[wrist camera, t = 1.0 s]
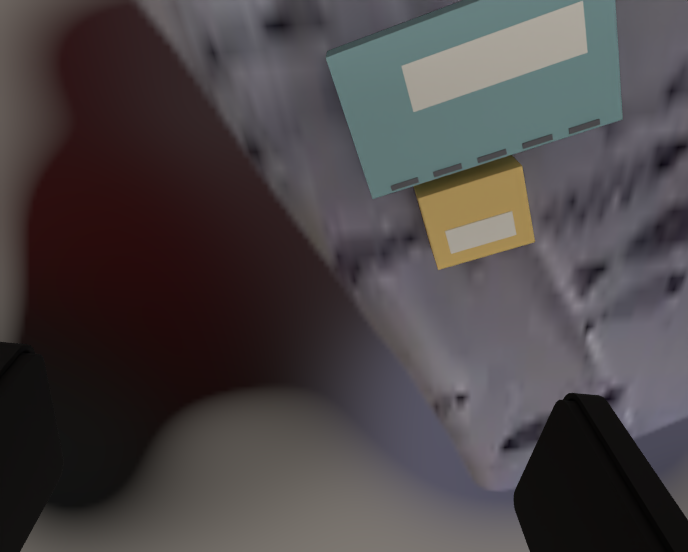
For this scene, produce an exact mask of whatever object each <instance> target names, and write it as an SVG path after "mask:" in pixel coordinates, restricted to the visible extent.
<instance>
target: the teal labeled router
mask: <svg viewBox="0 0 688 552" xmlns="http://www.w3.org/2000/svg"><path fill="white" fill-rule="evenodd" d="M326 60H327V63H328V66H329V69H330V72H331V75H332V78H333V81H334V84H335V87H336V90H337V93H338V96H339V99H340V102H341V105H342V108H343V111H344V114H345V117H346V120H347V123H348V126H349V129H350V132H351V135H352V138H353V141H354V144H355V147H356V150H357V153H358V156H359V160H360V163H361V166H362V169H363V172H364V175H365V178H366V181H367V184H368V187H369V190H370V193H371V196H372V199H375V198H378V197H381V196H384V195H387V194H390V193H393V192H397V191H400V190H403V189H406V188H409V187H412V186H415V185H419V184H422V183H425V182H428V181H431V180H434V179H437V178H440V177H444V176H447V175H450V174H453V173H456V172H459V171H462V170H466V169H469V168H472V167H475V166H478V165H481V164H484V163H488V162H491V161H494V160H497V159H500V158H503V157H506V156H509V155H513V154H516V153H519V152H522V151H525V150H528V149H531V148H535V147H538V146H541V145H544V144H547V143H550V142H553V141H556V140H560V139H563V138H566V137H569V136H572V135H575V134H578V133H582V132H585V131H588V130H591V129H594V128H597V127H600V126H603V125H607V124H610V123H613V122H616V121H619V120H622V119H623V117H622V101H621V85H620V69H619V53H618V38H617V22H616V6H615V0H462V1H460V2H457V3H454V4H452V5H449V6H446V7H444V8H441V9H438V10H436V11H433V12H430V13H428V14H425V15H422V16H420V17H417V18H414V19H412V20H409V21H406V22H404V23H401V24H398V25H396V26H393V27H390V28H388V29H385V30H382V31H380V32H377V33H374V34H372V35H369V36H366V37H364V38H361V39H358V40H356V41H353V42H350V43H348V44H345V45H342V46H340V47H337V48H334V49H332V50H329V51H327V55H326Z"/></svg>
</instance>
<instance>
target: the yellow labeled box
mask: <svg viewBox="0 0 688 552" xmlns="http://www.w3.org/2000/svg"><path fill="white" fill-rule="evenodd" d="M414 190H415V193H416V197H417V201H418V204H419V208H420V211H421V215H422V218H423V222H424V225H425V229H426V232H427V236H428V239H429V243H430V246H431V249H432V252H433V255H434V258H435V261H436V264H437V267H438V270H440V269H443V268H447V267H450V266H454V265H457V264H461V263H464V262H468V261H471V260H474V259H478V258H481V257H485V256H488V255H492V254H495V253H499V252H502V251H506V250H509V249H513V248H516V247H519V246H523V245H526V244H530V243H533V242H535V239H534V233H533V227H532V221H531V216H530V210H529V204H528V198H527V192H526V186H525V180H524V174H523V168H522V165H521V164H520V163H519V162H518V161H517V160H516V159H515V158H514V157H513V156H512V155H509V156H506V157H503V158H500V159H497V160H494V161H491V162H488V163H484V164H481V165H478V166H475V167H472V168H469V169H466V170H462V171H459V172H456V173H453V174H450V175H447V176H444V177H440V178H437V179H434V180H431V181H428V182H425V183H422V184H419V185H415V186H414Z"/></svg>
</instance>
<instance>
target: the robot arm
mask: <svg viewBox="0 0 688 552" xmlns="http://www.w3.org/2000/svg"><path fill="white" fill-rule="evenodd" d="M62 469H63V455H62V450H61V444H60V439H59V434H58V429H57V424H56V419H55V414H54V408H53V403H52V398H51V394H50V388H49V383H48V378H47V372H46V367H45V362H44V359H43V357H42V355H40V354H35V352H34V349H33V348H32V347H31V345H27V344H18V343H6V342H0V552H20V551H21V549H22V547H23V545H24V543H25V542H26V540H27V538H28V536H29V534H30V532H31V531H32V529H33V527H34V525H35V523H36V521H37V520H38V518H39V516H40V514H41V512H42V510H43V508H44V507H45V505H46V503H47V501H48V499H49V498H50V496H51V494H52V492H53V490H54V488H55V487H56V485H57V483H58V481H59V478H60V476H61V473H62ZM514 508H515V511H516V514H517V517H518V520H519V522H520V525H521V528H522V531H523V534H524V536H525V539H526V542H527V545H528V547H529V550H530V552H688V520H687V518H686V517H685V515H684V514H683V512H682V511H681V510H680V508H679V506H678V505H677V504H676V502H675V501H674V499H673V498H672V496H671V495H670V493H669V492H668V491H667V489H666V487H665V486H664V484H663V483H662V482H661V480H660V479H659V477H658V476H657V474H656V473H655V471H654V470H653V468H652V467H651V465H650V464H649V462H648V461H647V459H646V458H645V456H644V455H643V453H642V452H641V451H640V449H639V448H638V446H637V445H636V443H635V442H634V440H633V439H632V437H631V436H630V434H629V433H628V431H627V430H626V428H625V427H624V425H623V424H622V423H621V421H620V420H619V418H618V417H617V415H616V414H615V412H614V411H613V409H612V408H611V406H610V405H609V403H608V402H607V401H606V400H605V399H604V397H601V396H599V395H589V394H577V393H569V394H567V395H566V396H565V397H564V399H563V400H559V401H557V402H556V404H555V405H554V407H553V410H552V412H551V414H550V416H549V418H548V420H547V423H546V425H545V427H544V429H543V431H542V433H541V435H540V438H539V440H538V442H537V444H536V446H535V448H534V450H533V453H532V455H531V457H530V459H529V461H528V463H527V466H526V468H525V470H524V472H523V474H522V476H521V478H520V481H519V483H518V485H517V487H516V489H515V492H514Z"/></svg>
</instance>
